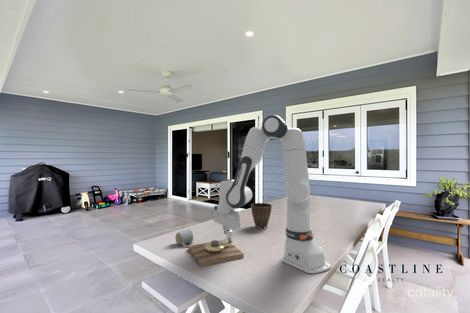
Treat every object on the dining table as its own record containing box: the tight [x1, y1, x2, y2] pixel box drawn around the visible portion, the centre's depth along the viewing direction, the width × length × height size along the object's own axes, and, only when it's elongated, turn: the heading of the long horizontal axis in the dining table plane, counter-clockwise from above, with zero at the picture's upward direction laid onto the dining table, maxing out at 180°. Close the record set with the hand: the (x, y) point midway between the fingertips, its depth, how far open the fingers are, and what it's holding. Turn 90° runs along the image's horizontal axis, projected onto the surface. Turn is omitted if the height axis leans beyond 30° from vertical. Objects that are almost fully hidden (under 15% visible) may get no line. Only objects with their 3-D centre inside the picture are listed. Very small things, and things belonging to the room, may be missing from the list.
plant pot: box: [250, 202, 273, 229], centre depth 162 cm, size 15×15×16 cm
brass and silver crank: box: [205, 229, 233, 253], centre depth 118 cm, size 10×16×8 cm, turn 123°
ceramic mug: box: [175, 228, 194, 248], centre depth 129 cm, size 11×8×8 cm
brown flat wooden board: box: [188, 241, 245, 267], centre depth 116 cm, size 22×22×2 cm
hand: (226, 233), depth 124 cm, fingers closed
